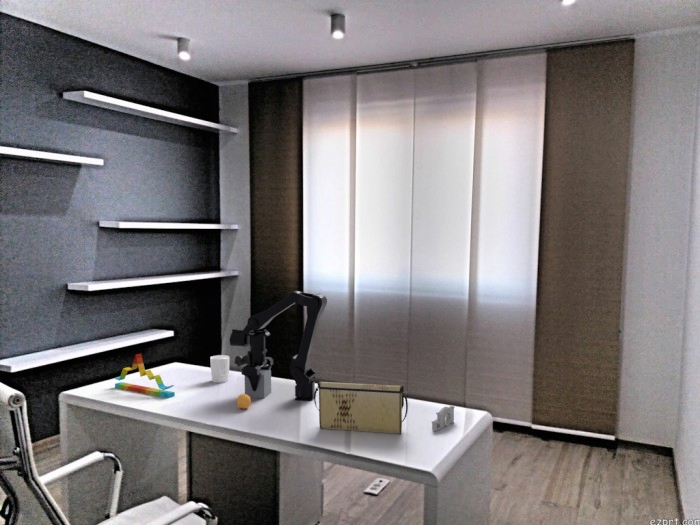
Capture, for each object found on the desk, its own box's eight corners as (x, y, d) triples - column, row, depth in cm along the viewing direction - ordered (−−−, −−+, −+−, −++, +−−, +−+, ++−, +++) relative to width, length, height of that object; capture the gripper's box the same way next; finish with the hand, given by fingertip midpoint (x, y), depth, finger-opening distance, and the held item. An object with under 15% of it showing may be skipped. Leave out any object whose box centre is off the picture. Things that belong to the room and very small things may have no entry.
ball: (253, 406, 202) (252, 392, 202) (247, 410, 197) (247, 396, 197) (239, 405, 203) (239, 392, 203) (234, 410, 198) (234, 396, 198)
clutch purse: (409, 428, 179) (409, 381, 178) (406, 436, 172) (406, 387, 171) (317, 422, 185) (317, 376, 184) (311, 429, 178) (311, 382, 178)
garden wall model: (435, 432, 175) (435, 413, 175) (430, 430, 176) (430, 412, 176) (455, 422, 184) (455, 403, 184) (450, 420, 186) (450, 402, 185)
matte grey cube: (271, 392, 220) (270, 369, 219) (264, 398, 212) (264, 374, 212) (252, 391, 221) (252, 369, 221) (244, 397, 214) (244, 373, 213)
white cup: (227, 383, 234) (227, 359, 234) (208, 383, 234) (207, 359, 234) (231, 378, 242) (231, 355, 241) (213, 378, 242) (212, 355, 242)
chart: (175, 396, 216) (174, 357, 215) (168, 399, 213) (167, 359, 213) (121, 386, 231) (120, 350, 230) (115, 388, 228) (114, 351, 228)
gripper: (246, 342, 227) (247, 380, 227) (227, 351, 208) (228, 393, 209) (273, 343, 224) (273, 382, 225) (256, 352, 206) (257, 395, 207)
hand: (258, 388), depth 217 cm, fingers closed on matte grey cube, 8 cm apart
